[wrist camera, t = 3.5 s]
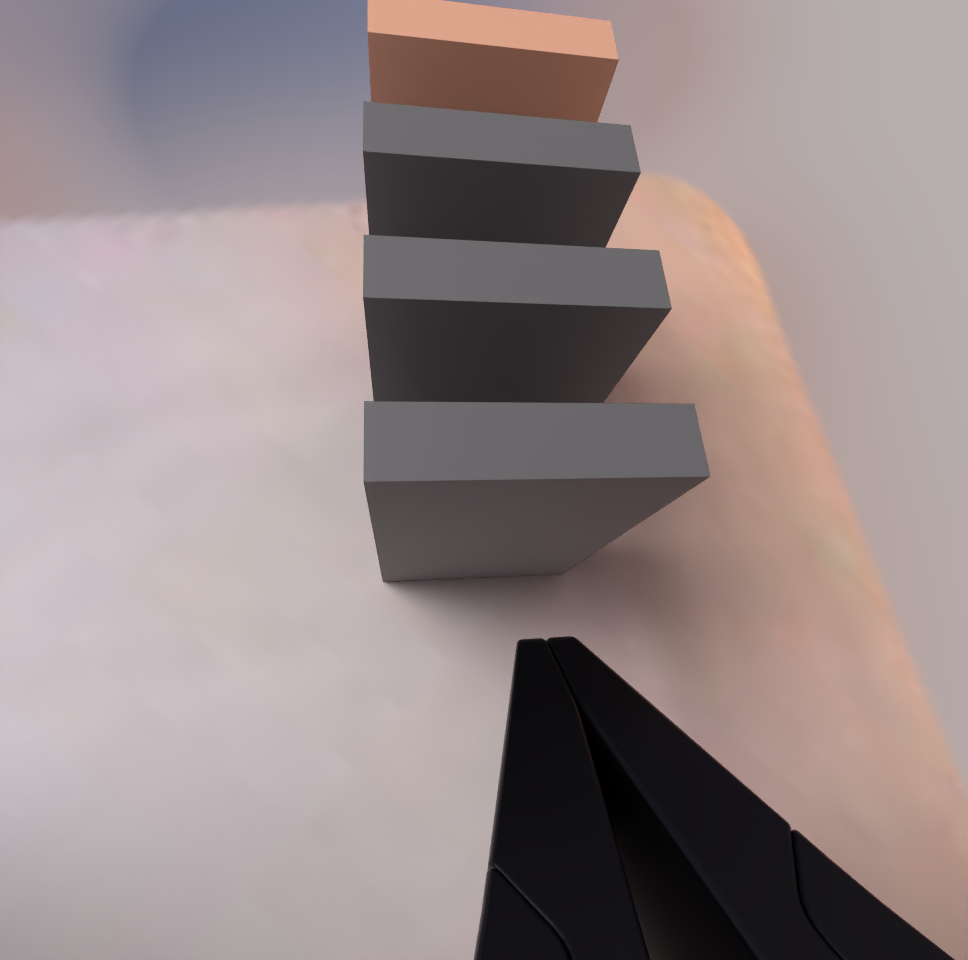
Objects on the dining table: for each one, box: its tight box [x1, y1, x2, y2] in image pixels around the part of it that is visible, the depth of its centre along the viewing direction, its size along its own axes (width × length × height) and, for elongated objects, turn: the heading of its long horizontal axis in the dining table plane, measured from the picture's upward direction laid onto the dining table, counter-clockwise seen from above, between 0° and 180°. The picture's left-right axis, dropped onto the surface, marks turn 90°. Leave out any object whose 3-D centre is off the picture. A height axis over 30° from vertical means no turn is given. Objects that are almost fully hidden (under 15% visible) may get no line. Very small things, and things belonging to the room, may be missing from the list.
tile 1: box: [364, 401, 710, 582], centre depth 12 cm, size 1×5×8 cm, turn 94°
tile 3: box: [363, 101, 641, 248], centre depth 14 cm, size 1×5×8 cm, turn 94°
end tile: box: [368, 0, 619, 122], centre depth 15 cm, size 1×5×8 cm, turn 94°
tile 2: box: [363, 235, 672, 403], centre depth 13 cm, size 1×5×8 cm, turn 94°
